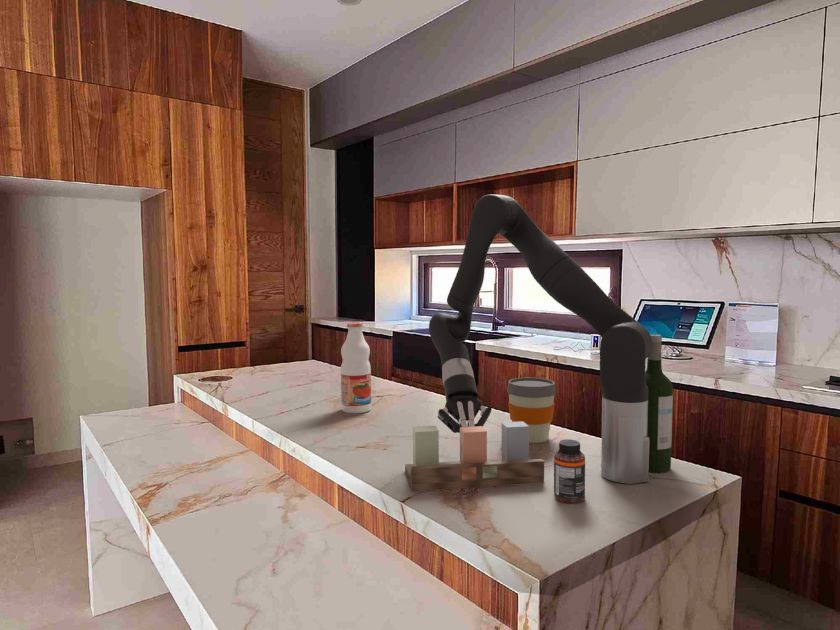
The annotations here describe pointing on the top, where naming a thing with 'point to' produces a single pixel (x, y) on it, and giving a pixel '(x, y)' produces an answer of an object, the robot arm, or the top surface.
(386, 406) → the top surface
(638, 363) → the robot arm
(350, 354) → the fruit juice
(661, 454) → the wine bottle
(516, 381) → the reusable coffee cup
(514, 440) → the slate key
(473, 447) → the terracotta key
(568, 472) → the supplement bottle
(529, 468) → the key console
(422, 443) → the sage key
